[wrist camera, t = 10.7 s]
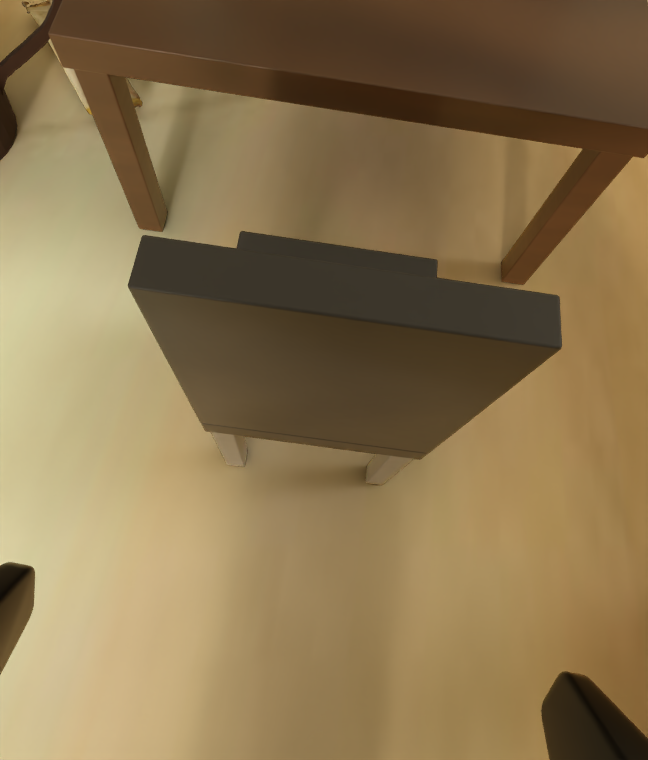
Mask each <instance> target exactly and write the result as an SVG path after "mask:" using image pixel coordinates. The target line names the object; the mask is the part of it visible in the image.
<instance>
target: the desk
mask: <svg viewBox="0 0 648 760" xmlns="http://www.w3.org/2000/svg"><path fill="white" fill-rule="evenodd" d="M48 34H49V37H50V39H51V41H52V44H53V46H54V48H55V51H56V53H57V55H58V58H59V60H60V62H61V65H62V67H64V68H70V69H74V71H75V73H76V76H77V78H78V81H79V83H80V86H81V88H82V91H83V93H84V95H85V98H86V100H87V103H88V105H89V108H90V110H91V112H92V115H93V117H94V120H95V122H96V125H97V127H98V130H99V132H100V134H101V137H102V139H103V142H104V144H105V147H106V149H107V151H108V154H109V156H110V159H111V161H112V164H113V166H114V169H115V171H116V173H117V176H118V178H119V181H120V183H121V186H122V188H123V190H124V193H125V195H126V198H127V200H128V203H129V205H130V208H131V210H132V212H133V215H134V217H135V220H136V222H137V225H138V227H139V228H140V229H146V230H153V231H160V232H162V231H163V228H164V224H165V221H166V217H167V210H166V206H165V203H164V200H163V197H162V194H161V190H160V187H159V184H158V181H157V178H156V174H155V171H154V168H153V165H152V162H151V159H150V155H149V152H148V149H147V146H146V143H145V139H144V136H143V133H142V130H141V127H140V123H139V120H138V117H137V114H136V111H135V107H134V104H133V101H132V98H131V95H130V91H129V88H128V85H127V82H126V79H125V77H127V78H134V79H140V80H147V81H153V82H159V83H166V84H172V85H179V86H185V87H191V88H198V89H204V90H211V91H217V92H224V93H230V94H236V95H243V96H249V97H256V98H262V99H268V100H275V101H281V102H288V103H294V104H300V105H307V106H313V107H320V108H326V109H332V110H339V111H345V112H352V113H358V114H364V115H371V116H377V117H384V118H390V119H397V120H403V121H409V122H416V123H422V124H429V125H435V126H441V127H448V128H454V129H461V130H467V131H473V132H480V133H486V134H493V135H499V136H505V137H512V138H518V139H525V140H531V141H537V142H544V143H550V144H557V145H563V146H570V147H576V148H582V151H581V152H580V154H579V155H578V156H577V158H576V159H575V161H574V162H573V163H572V165H571V166H570V168H569V169H568V170H567V172H566V173H565V174H564V176H563V177H562V179H561V180H560V181H559V183H558V184H557V186H556V187H555V188H554V190H553V191H552V193H551V194H550V195H549V197H548V198H547V200H546V201H545V202H544V204H543V205H542V206H541V208H540V209H539V211H538V212H537V213H536V215H535V216H534V218H533V219H532V220H531V222H530V223H529V225H528V226H527V227H526V229H525V230H524V232H523V233H522V234H521V236H520V237H519V239H518V240H517V241H516V243H515V244H514V245H513V247H512V248H511V250H510V251H509V252H508V254H507V255H506V257H505V258H504V259H503V261H502V262H501V272H502V282H509V283H515V284H522V285H523V284H525V283H526V281H527V280H528V279H529V278H530V277H531V276H532V274H533V273H534V272H535V271H536V270H537V268H538V267H539V266H540V265H541V264H542V263H543V261H544V260H545V259H546V258H547V257H548V256H549V254H550V253H551V252H552V251H553V250H554V249H555V247H556V246H557V245H558V244H559V243H560V241H561V240H562V239H563V238H564V237H565V236H566V234H567V233H568V232H569V231H570V230H571V229H572V227H573V226H574V225H575V224H576V223H577V222H578V220H579V219H580V218H581V217H582V216H583V215H584V213H585V212H586V211H587V210H588V209H589V207H590V206H591V205H592V204H593V203H594V202H595V200H596V199H597V198H598V197H599V196H600V195H601V193H602V192H603V191H604V190H605V189H606V188H607V186H608V185H609V184H610V183H611V182H612V180H613V179H614V178H615V177H616V176H617V175H618V173H619V172H620V171H621V170H622V169H623V168H624V166H625V165H626V164H627V163H628V162H629V161H630V159H631V158H632V157H633V156H634V157H640V158H644V157H645V156H646V155H647V154H648V2H647V0H62V3H61V5H60V7H59V9H58V12H57V14H56V16H55V19H54V21H53V23H52V25H51V28H50V30H49V32H48Z"/></svg>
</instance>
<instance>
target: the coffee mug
mask: <svg viewBox="0 0 648 760" xmlns="http://www.w3.org/2000/svg"><path fill="white" fill-rule="evenodd" d="M61 3H62V0H52V4H51V6H50V8H49V11H48V13H47V16H46V18H45V20H44V21H43V23H42V24H41V25H40V26H39V27H38V28H37V29H36V30H35V31H34V32H33V33H32V34H31V35H30V36H29V37H28V38H27V39H26V40H25V41H24V42H23V43H21V44H20V45H19V46H18V47H17V48H16V49H15V50H13V51H12V52H11V53H10V54H9V55H8V56H7V57H6V58H5V59H4V60H3V61H1V62H0V160H1V159H2V158H3V157H4V156H5V155H6V154H7V153H8V151H9V149H10V148H11V146H12V145H13V143H14V140H15V137H16V133H17V122H16V117H15V114H14V112H13V110H12V107H11V105H10V103H9V100H8V98H7V95H6V93H5V91H4V86H5V83H6V80H7V78H8V77H9V76H10V75H12V74H13V73H14V71H15V70H17V69H18V68H20V67H21V66H22V65H23V64H24V63H25V62H27V61H28V60H29V59H30V58H31V57H32V56H33V55H34V54H35V53H36V52H38V51H39V50H40V49H41V48H42V47H43V46H44V45H45V44H46V43H47V42H48V41H49V39H50V37H49V34H48V32H49V30H50V28H51V25H52V23H53V21H54V19H55V16H56V14H57V12H58V9H59V7H60V5H61Z"/></svg>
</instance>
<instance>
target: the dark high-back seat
mask: <svg viewBox="0 0 648 760" xmlns="http://www.w3.org/2000/svg"><path fill="white" fill-rule="evenodd" d="M128 288H129V290H130V292H131V293H132V295H133V297H134V299H135V301H136V303H137V305H138V307H139V308H140V310H141V312H142V314H143V316H144V318H145V320H146V322H147V323H148V325H149V327H150V329H151V331H152V333H153V335H154V337H155V338H156V340H157V342H158V344H159V346H160V348H161V350H162V352H163V353H164V355H165V357H166V359H167V361H168V363H169V365H170V366H171V368H172V370H173V372H174V374H175V376H176V378H177V380H178V381H179V383H180V385H181V387H182V389H183V391H184V393H185V395H186V396H187V398H188V400H189V402H190V404H191V406H192V408H193V410H194V411H195V413H196V415H197V417H198V419H199V421H200V422H201V424H202V426H203V428H204V430H205V431H208V432H211V434H212V436H213V438H214V440H215V442H216V444H217V446H218V448H219V450H220V452H221V454H222V456H223V458H224V460H225V462H226V464H227V465H233V466H241V467H244V466H245V463H246V457H247V451H248V450H247V446H246V442H245V438H244V436H246V437H253V438H261V439H268V440H276V441H283V442H291V443H298V444H306V445H313V446H321V447H328V448H336V449H343V450H351V451H359V452H366V453H374V454H376V455H375V456H374V458H373V459H372V460H371V461H370V462H369V464H368V465H367V470H366V483H371V484H378V485H383V484H385V483H386V482H387V481H388V480H389V479H391V478H392V477H393V476H394V475H395V474H397V473H398V472H399V471H400V470H401V469H403V468H404V467H405V466H406V465H407V464H409V463H410V462H411V461H412V460H413V459H419V460H420V459H422V458H423V457H424V456H426V455H427V454H428V453H430V452H431V451H432V450H433V449H435V448H436V447H437V446H439V445H440V444H441V443H442V442H444V441H445V440H446V439H447V438H449V437H450V436H451V435H452V434H454V433H455V432H456V431H457V430H459V429H460V428H461V427H463V426H464V425H465V424H466V423H468V422H469V421H470V420H471V419H473V418H474V417H475V416H476V415H478V414H479V413H480V412H482V411H483V410H484V409H485V408H487V407H488V406H489V405H490V404H492V403H493V402H494V401H495V400H497V399H498V398H499V397H501V396H502V395H503V394H504V393H506V392H507V391H508V390H509V389H511V388H512V387H513V386H514V385H516V384H517V383H518V382H520V381H521V380H522V379H523V378H525V377H526V376H527V375H528V374H530V373H531V372H532V371H533V370H535V369H536V368H537V367H539V366H540V365H541V364H542V363H544V362H545V361H546V360H547V359H549V358H550V357H551V356H552V355H554V354H555V353H556V352H558V351H559V350H560V349H561V347H562V336H561V316H560V298H559V296H558V295H552V294H545V293H539V292H532V291H525V290H518V289H511V288H504V287H497V286H490V285H484V284H477V283H470V282H463V281H456V280H449V279H442V278H437V260H436V259H429V258H422V257H415V256H408V255H402V254H395V253H388V252H381V251H374V250H367V249H361V248H354V247H347V246H340V245H333V244H326V243H320V242H313V241H306V240H299V239H292V238H286V237H279V236H272V235H265V234H258V233H251V232H245V231H241V232H240V234H239V239H238V244H237V249H236V248H229V247H222V246H215V245H208V244H202V243H195V242H188V241H181V240H174V239H167V238H160V237H153V236H147V235H144V236H142V238H141V241H140V245H139V248H138V252H137V255H136V259H135V262H134V266H133V269H132V273H131V276H130V280H129V283H128Z"/></svg>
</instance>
